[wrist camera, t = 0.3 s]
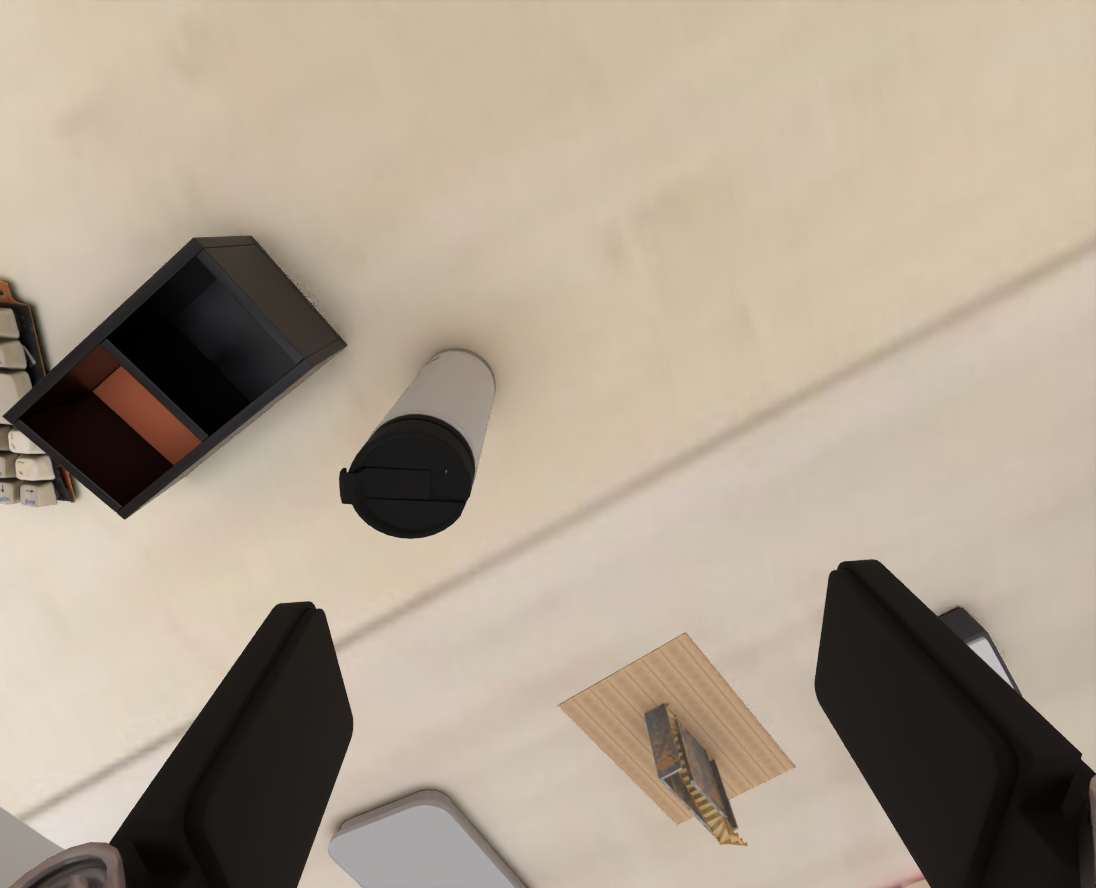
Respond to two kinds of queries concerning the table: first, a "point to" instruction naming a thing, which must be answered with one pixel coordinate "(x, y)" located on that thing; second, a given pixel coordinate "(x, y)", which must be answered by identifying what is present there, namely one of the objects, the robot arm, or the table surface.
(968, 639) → the calculator
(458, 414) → the travel mug
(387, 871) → the grey flat block
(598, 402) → the table surface
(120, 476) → the caddy
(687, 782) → the architectural model on board
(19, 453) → the mechanical keyboard
